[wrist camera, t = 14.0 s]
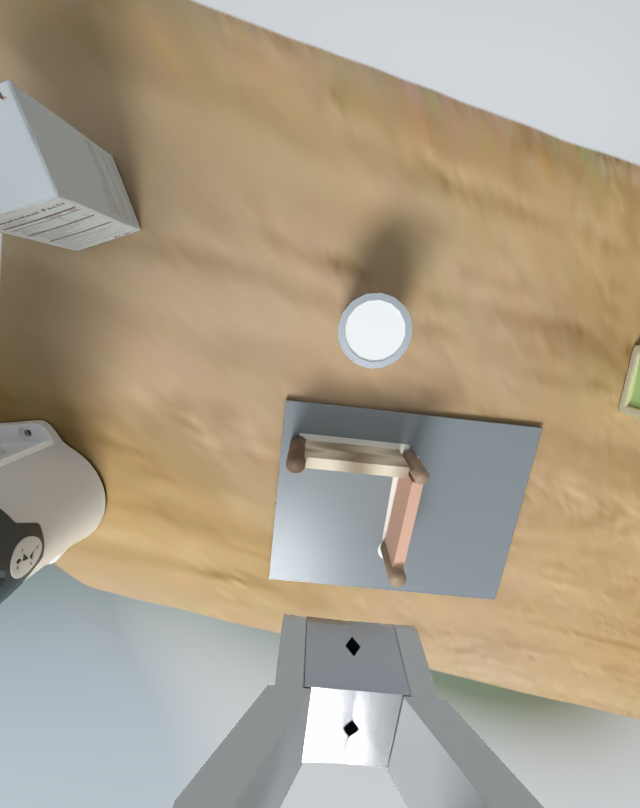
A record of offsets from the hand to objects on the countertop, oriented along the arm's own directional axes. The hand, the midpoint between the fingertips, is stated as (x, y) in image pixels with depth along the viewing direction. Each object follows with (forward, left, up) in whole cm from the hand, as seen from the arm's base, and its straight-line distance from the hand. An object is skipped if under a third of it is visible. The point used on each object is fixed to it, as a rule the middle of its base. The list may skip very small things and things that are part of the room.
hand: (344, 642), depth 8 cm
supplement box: (-25, +15, -34) cm, 45 cm away
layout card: (+11, -15, -34) cm, 39 cm away
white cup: (+4, +6, -34) cm, 35 cm away
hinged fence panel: (+11, -14, -33) cm, 38 cm away
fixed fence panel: (+3, -8, -34) cm, 35 cm away
